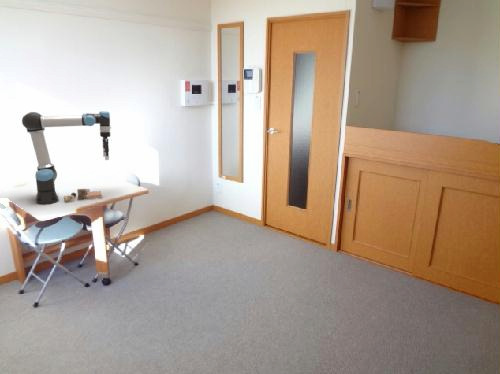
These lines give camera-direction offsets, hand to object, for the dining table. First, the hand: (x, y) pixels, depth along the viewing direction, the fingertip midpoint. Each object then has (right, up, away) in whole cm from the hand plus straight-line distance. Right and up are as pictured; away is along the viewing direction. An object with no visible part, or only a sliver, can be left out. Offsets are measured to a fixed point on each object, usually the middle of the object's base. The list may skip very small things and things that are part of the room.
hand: (106, 158), depth 308 cm
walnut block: (-15, -32, -10) cm, 36 cm away
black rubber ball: (-23, -29, -7) cm, 37 cm away
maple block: (-21, -34, -17) cm, 43 cm away
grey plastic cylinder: (-16, -29, +2) cm, 33 cm away
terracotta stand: (-7, -31, -4) cm, 32 cm away
